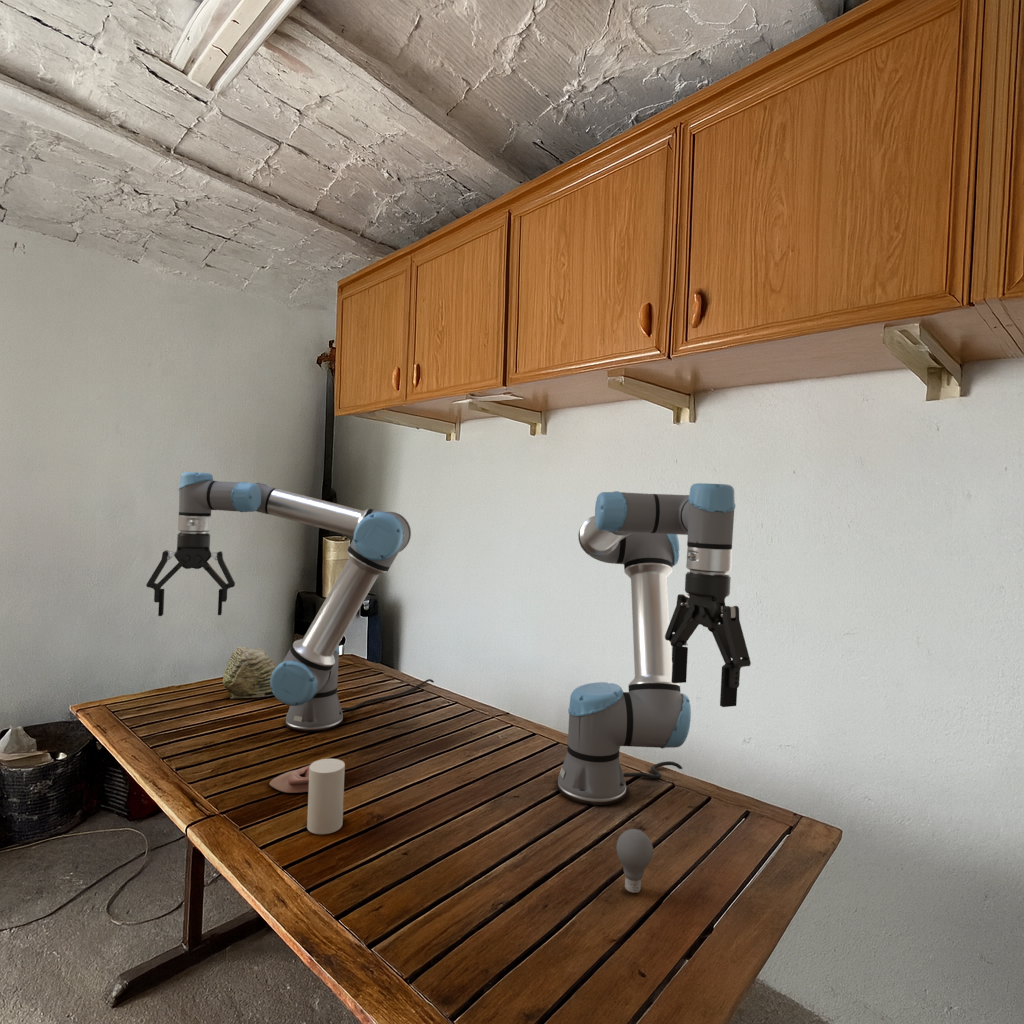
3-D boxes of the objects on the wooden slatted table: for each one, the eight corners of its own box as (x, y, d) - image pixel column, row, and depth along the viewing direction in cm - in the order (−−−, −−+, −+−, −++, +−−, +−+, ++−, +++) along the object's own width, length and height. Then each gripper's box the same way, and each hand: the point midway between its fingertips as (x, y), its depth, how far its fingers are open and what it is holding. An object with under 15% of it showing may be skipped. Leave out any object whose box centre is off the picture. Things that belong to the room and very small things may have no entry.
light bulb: (610, 879, 108) (613, 822, 108) (644, 879, 109) (647, 822, 109) (619, 902, 102) (622, 840, 102) (655, 901, 103) (658, 840, 103)
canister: (307, 836, 118) (309, 774, 118) (306, 819, 124) (309, 760, 124) (343, 832, 120) (346, 770, 120) (341, 815, 126) (343, 757, 126)
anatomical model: (261, 770, 135) (291, 750, 147) (261, 789, 136) (290, 767, 147) (318, 779, 133) (344, 757, 144) (318, 797, 133) (343, 775, 144)
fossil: (218, 695, 195) (220, 647, 195) (278, 685, 208) (279, 640, 207) (228, 703, 189) (230, 653, 188) (289, 692, 201) (290, 645, 201)
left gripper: (135, 531, 154) (132, 618, 155) (246, 534, 163) (242, 616, 164) (141, 529, 161) (138, 612, 162) (247, 532, 170) (243, 611, 171)
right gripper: (649, 564, 121) (644, 675, 121) (739, 582, 97) (732, 719, 98) (683, 564, 123) (677, 672, 124) (778, 581, 100) (771, 715, 100)
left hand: (190, 614), depth 163 cm, fingers open, 13 cm apart
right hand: (702, 693), depth 111 cm, fingers open, 13 cm apart
